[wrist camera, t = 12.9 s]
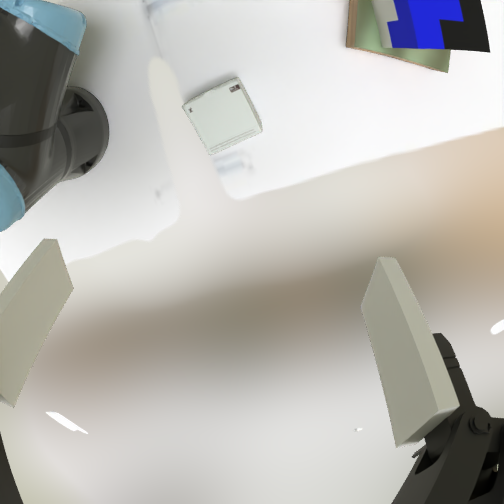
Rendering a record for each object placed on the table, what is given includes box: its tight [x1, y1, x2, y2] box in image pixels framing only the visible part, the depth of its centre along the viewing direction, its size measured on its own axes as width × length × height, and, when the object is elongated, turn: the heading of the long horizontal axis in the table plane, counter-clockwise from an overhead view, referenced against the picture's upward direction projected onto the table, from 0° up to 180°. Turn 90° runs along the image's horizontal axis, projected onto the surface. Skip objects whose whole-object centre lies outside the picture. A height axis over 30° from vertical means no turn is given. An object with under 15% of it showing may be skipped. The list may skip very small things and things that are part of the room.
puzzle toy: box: [371, 0, 490, 52], centre depth 23 cm, size 10×10×10 cm
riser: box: [346, 0, 451, 73], centre depth 28 cm, size 14×14×4 cm
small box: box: [182, 77, 262, 155], centre depth 38 cm, size 8×8×5 cm
